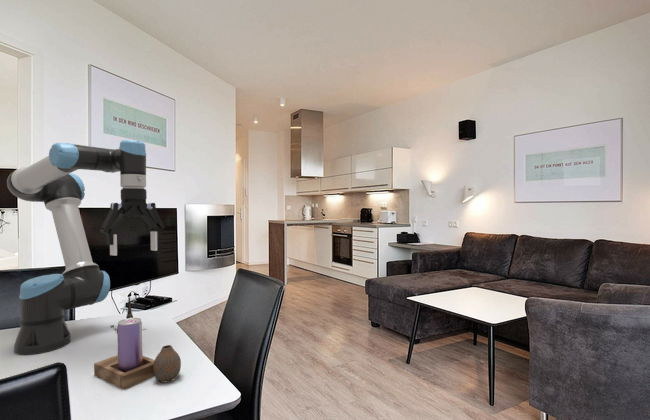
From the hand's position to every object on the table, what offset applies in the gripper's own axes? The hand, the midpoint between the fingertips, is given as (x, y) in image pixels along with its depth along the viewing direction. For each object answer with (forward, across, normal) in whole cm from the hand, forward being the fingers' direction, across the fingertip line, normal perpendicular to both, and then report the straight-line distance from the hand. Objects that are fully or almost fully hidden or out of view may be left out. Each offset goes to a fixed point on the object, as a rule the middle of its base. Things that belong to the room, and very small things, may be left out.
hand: (134, 252), depth 119 cm
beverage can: (+31, -12, -18) cm, 38 cm away
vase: (+32, -8, -28) cm, 43 cm away
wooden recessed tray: (+32, -12, -16) cm, 37 cm away
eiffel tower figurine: (+32, +11, +24) cm, 42 cm away
